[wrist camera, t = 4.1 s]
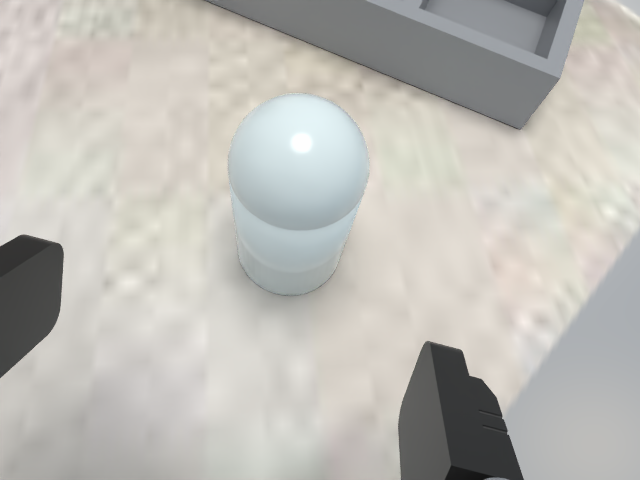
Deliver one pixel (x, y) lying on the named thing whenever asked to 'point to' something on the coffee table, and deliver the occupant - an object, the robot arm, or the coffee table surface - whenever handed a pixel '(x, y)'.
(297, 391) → the coffee table surface
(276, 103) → the pale blue dome-topped cylinder
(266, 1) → the tray
